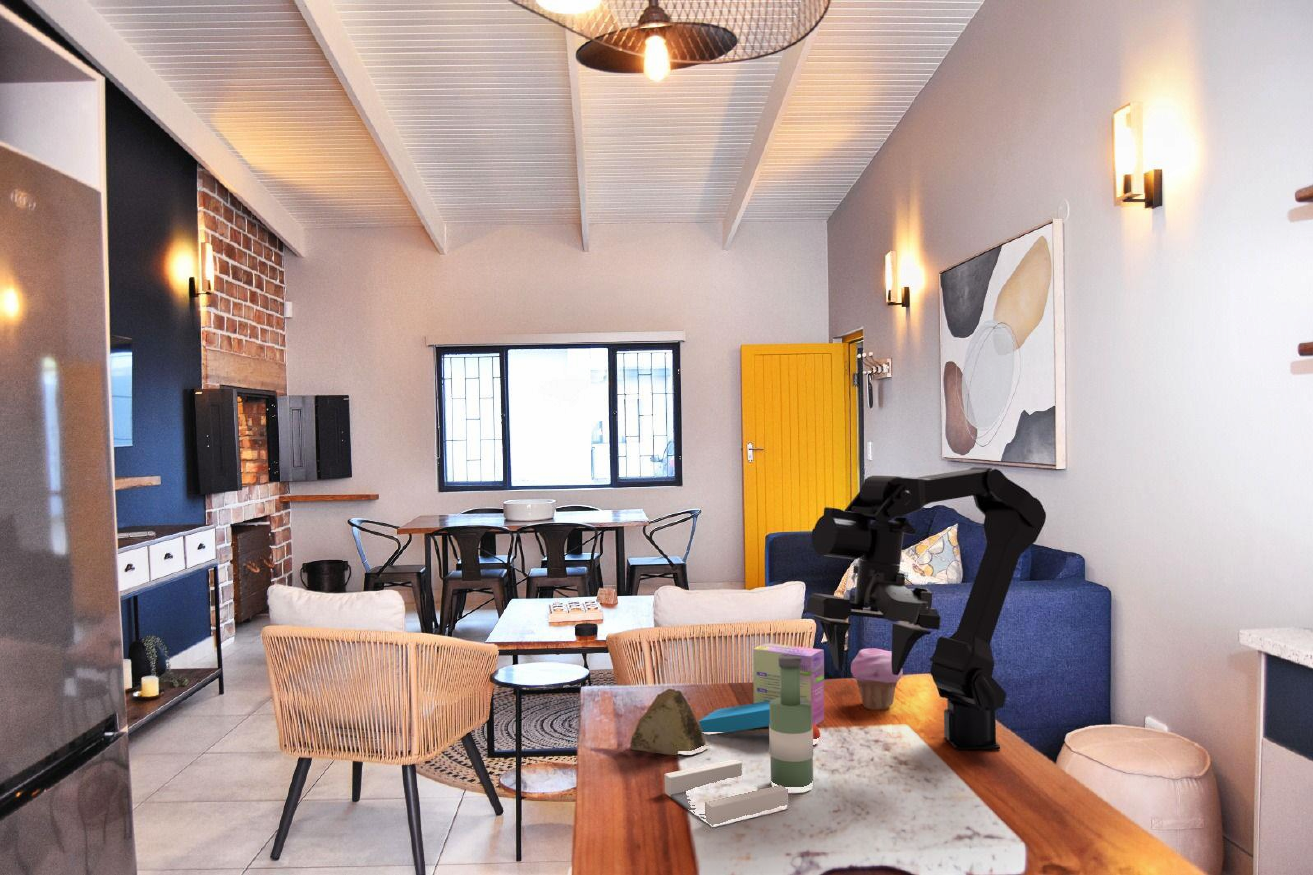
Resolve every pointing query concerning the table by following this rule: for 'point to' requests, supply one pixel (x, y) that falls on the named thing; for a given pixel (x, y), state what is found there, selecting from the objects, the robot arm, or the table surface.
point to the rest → (726, 806)
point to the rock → (668, 726)
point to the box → (810, 675)
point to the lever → (741, 719)
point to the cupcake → (875, 678)
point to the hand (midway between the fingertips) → (867, 672)
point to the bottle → (791, 729)
